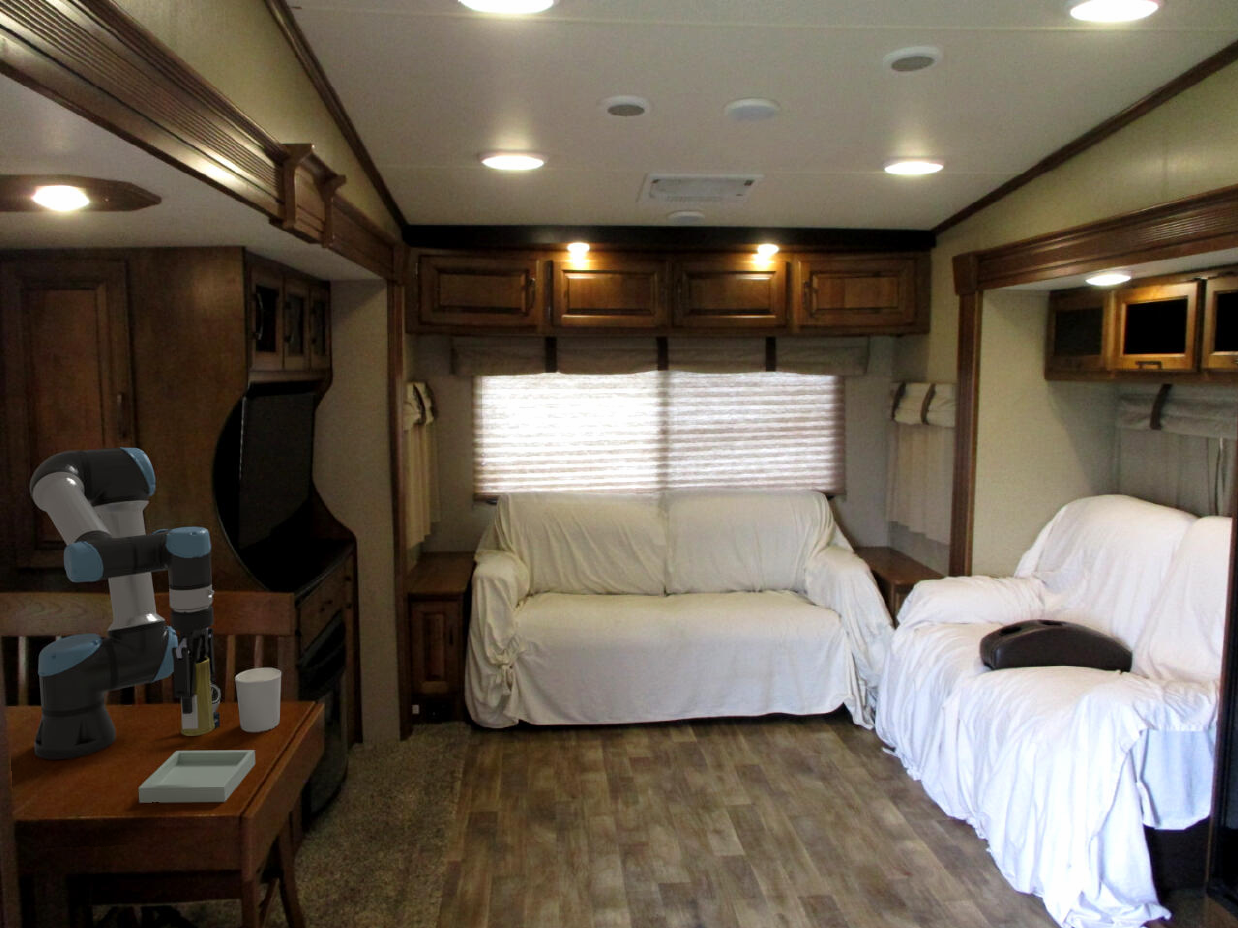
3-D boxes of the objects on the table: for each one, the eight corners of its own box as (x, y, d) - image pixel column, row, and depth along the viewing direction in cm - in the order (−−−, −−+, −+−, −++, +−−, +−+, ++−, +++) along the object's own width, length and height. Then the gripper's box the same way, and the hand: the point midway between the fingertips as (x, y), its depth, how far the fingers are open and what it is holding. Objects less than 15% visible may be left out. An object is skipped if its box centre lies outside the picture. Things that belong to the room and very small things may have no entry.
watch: (207, 736, 199) (205, 689, 198) (180, 730, 202) (177, 684, 200) (226, 726, 204) (224, 680, 203) (199, 721, 207) (197, 675, 206)
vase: (201, 737, 173) (197, 666, 171) (173, 734, 174) (169, 663, 172) (221, 724, 179) (218, 656, 177) (194, 722, 180) (190, 653, 178)
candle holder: (252, 714, 211) (251, 666, 210) (291, 718, 209) (289, 669, 208) (228, 731, 202) (225, 680, 200) (267, 735, 200) (266, 683, 198)
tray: (139, 802, 169) (138, 787, 169) (177, 764, 185) (176, 750, 185) (224, 801, 170) (224, 786, 170) (255, 763, 186) (254, 749, 186)
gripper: (190, 620, 164) (196, 740, 167) (230, 594, 183) (234, 702, 185) (149, 620, 164) (155, 741, 167) (192, 594, 182) (198, 703, 185)
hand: (197, 720), depth 176 cm, fingers closed on vase, 6 cm apart
